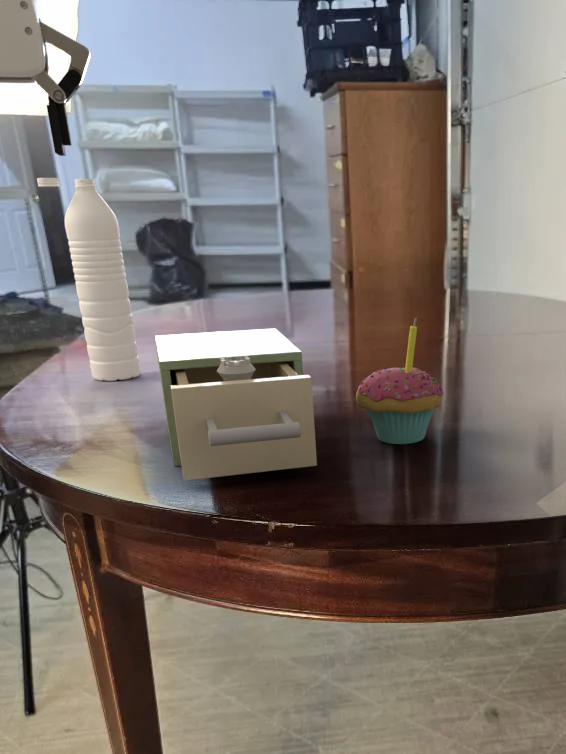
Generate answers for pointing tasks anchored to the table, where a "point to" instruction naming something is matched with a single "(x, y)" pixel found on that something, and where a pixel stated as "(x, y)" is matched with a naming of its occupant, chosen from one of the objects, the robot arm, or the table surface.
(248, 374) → the rook chess piece
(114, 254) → the water bottle
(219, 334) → the cabinet
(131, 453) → the table surface
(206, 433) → the drawer
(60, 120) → the robot arm
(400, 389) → the cupcake
